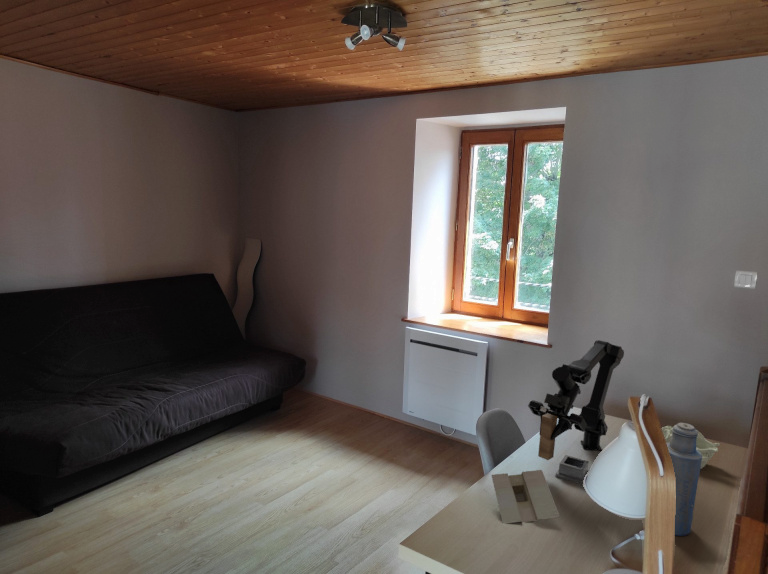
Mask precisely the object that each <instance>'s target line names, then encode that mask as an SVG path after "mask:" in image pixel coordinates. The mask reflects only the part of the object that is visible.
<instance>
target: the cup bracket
mask: <svg viewBox="0 0 768 574" xmlns="http://www.w3.org/2000/svg"><path fill="white" fill-rule="evenodd" d="M588 471H589V461H588V460H585V459H582V458H578V457H576V456H571V455H568V454H565V455H564V456H563V458H562V459H561V461H560V462H559V467H558V469H557V470H556V472H555V477H557V478H560V479H563V480H565V481H570V482H572V483H576V484H579V485H582V486H584V485H583V480H584V477H585V475H586V474H587V472H588Z"/></svg>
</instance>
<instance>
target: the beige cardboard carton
mask: <svg viewBox="0 0 768 574" xmlns="http://www.w3.org/2000/svg"><path fill="white" fill-rule="evenodd" d="M491 480H492V483H493V488H494V492H495V496H496V500H497V505H498V509H499V513H500V518H501V523H502V524H512V523H515V524H516V523H520V522H521V523H527V522H536V521H538V520H544V519H551V518H559V517H560V513H559V511H558V508H557V506H556V503H555V501H554V497H553V495H552V493H551V490H550V487H549V485H548V482H547V479H546V476H545V473H544V472H543V470H542V469H538V470H537V469H536V470H527V471H522V472H521V473H519V474H514V475H513V474H511V475H509V473H508V472H507V473H499V474H498V473H496V474H491Z"/></svg>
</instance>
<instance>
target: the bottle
mask: <svg viewBox="0 0 768 574" xmlns="http://www.w3.org/2000/svg"><path fill="white" fill-rule="evenodd" d="M672 427H673V429H672V431H673V433H672V437H671V440H670V443H666V444H667V447H668V450H669V454H670V456H671V459H672V463H673V467H674V472H675V477H676V515H675V535H674V536H676V537H677V536H679V537H683V536H684V537H685V536H687V535H689V534H690V533H691V531H692V525H693V519H694V509H695V503H696V494H697V490H698V489H697V488H698V483H699V476H700V473H701V469H700V468H701V462H702V454H701V453H700V452H699V451H698V450H696V447H697V445H696V440H697V436H698V431H699V430H698V431H697V429H696V427H694V425H692V424H690V423H686V422H677V424H675V425H673V426H672Z"/></svg>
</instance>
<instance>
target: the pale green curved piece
mask: <svg viewBox="0 0 768 574" xmlns="http://www.w3.org/2000/svg"><path fill="white" fill-rule="evenodd" d="M673 427H674V426H671V425H666V426H662V428H661V429H662V431H663V434H664V437H665V439H666V442H667V443H670V440H671V437H672V433H673V431H672V429H673ZM696 430H697V429H696ZM697 431H698V436H697V440H696V445H697V447H696V450H698V451H699V452H700V453H701V454H702V462H701V468H700V470H702V469H703V468H705V466H706V465H707V463H708V461H709V460H711V459H712V458H713V456H714V455H715V453H718V452H719V448H718V447H719V446H720V445H721V443H719V442H711V441H709V440H707V438H705V436H704V435H703V434H702V433H701V432H700V431H699V430H697Z"/></svg>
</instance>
